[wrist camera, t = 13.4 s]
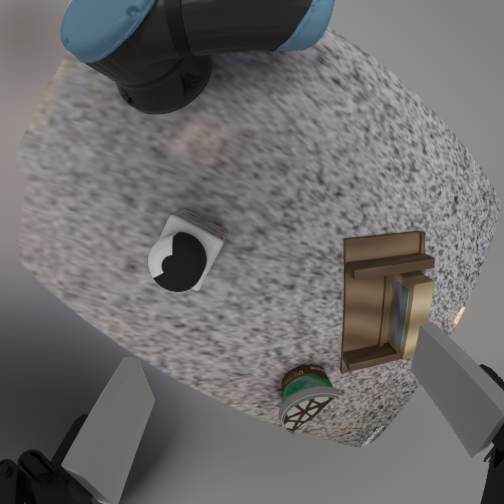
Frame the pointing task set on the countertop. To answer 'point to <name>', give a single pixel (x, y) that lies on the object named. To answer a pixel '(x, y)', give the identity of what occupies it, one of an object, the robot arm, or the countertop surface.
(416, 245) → the wooden slatted panel
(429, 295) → the tan rectangular block
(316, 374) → the food container
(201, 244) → the container
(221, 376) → the countertop surface
